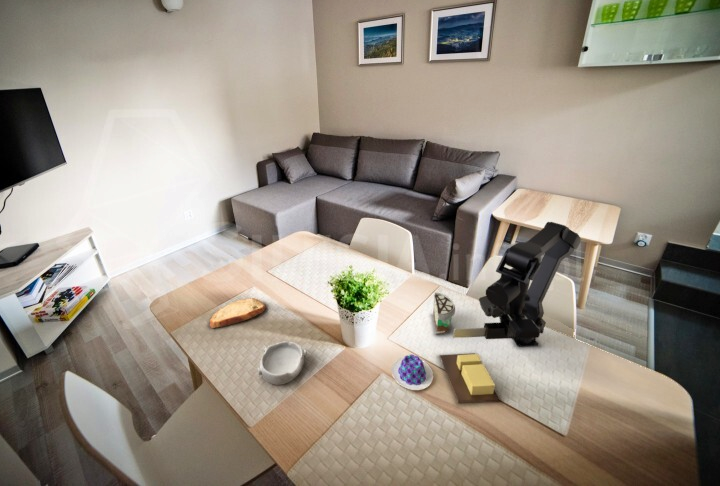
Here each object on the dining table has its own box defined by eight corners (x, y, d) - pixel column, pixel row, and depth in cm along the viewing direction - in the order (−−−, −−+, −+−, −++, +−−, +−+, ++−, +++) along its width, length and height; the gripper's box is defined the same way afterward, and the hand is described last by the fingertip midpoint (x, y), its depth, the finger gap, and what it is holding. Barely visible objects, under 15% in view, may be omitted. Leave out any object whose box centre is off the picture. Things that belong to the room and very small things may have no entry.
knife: (523, 331, 97) (526, 321, 95) (528, 337, 95) (530, 327, 93) (451, 334, 98) (453, 324, 96) (454, 340, 96) (456, 329, 94)
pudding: (383, 366, 101) (384, 354, 99) (415, 352, 105) (416, 340, 103) (408, 398, 91) (408, 385, 89) (441, 381, 95) (443, 368, 93)
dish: (310, 355, 108) (309, 344, 106) (294, 392, 96) (292, 380, 94) (271, 346, 112) (269, 336, 110) (251, 380, 101) (248, 369, 99)
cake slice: (455, 339, 109) (458, 316, 105) (436, 338, 110) (438, 314, 106) (450, 314, 120) (452, 292, 116) (432, 313, 121) (434, 291, 117)
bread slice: (205, 326, 124) (203, 318, 123) (233, 297, 139) (231, 290, 138) (245, 337, 118) (243, 329, 116) (269, 305, 133) (268, 298, 131)
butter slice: (476, 362, 99) (477, 353, 98) (479, 369, 97) (481, 360, 95) (456, 363, 99) (457, 354, 98) (459, 370, 97) (460, 361, 96)
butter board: (474, 355, 103) (474, 353, 102) (499, 401, 89) (499, 398, 88) (439, 357, 103) (439, 355, 103) (458, 403, 89) (458, 400, 89)
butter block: (481, 372, 96) (483, 364, 94) (493, 394, 89) (495, 385, 88) (461, 373, 96) (462, 365, 95) (471, 395, 90) (472, 386, 88)
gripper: (471, 271, 98) (465, 312, 105) (501, 314, 81) (492, 359, 88) (509, 270, 98) (501, 311, 104) (547, 312, 81) (534, 358, 87)
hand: (505, 332), depth 96 cm, fingers closed on knife, 2 cm apart
